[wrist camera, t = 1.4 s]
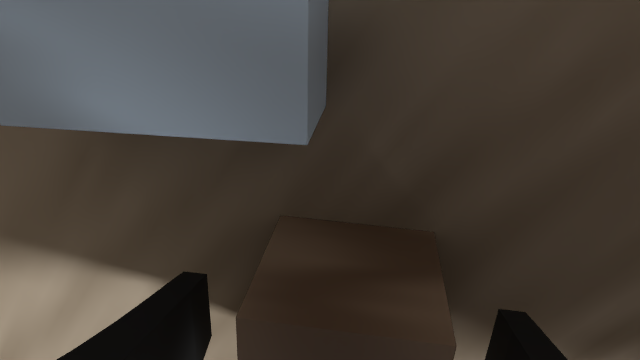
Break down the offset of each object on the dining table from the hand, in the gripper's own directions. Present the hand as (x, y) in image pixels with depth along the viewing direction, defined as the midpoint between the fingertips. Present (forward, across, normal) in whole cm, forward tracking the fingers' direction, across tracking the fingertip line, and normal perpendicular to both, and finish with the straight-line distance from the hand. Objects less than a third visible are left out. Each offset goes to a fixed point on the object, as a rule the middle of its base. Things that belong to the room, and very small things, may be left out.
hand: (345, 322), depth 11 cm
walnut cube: (+2, 0, 0) cm, 2 cm away
